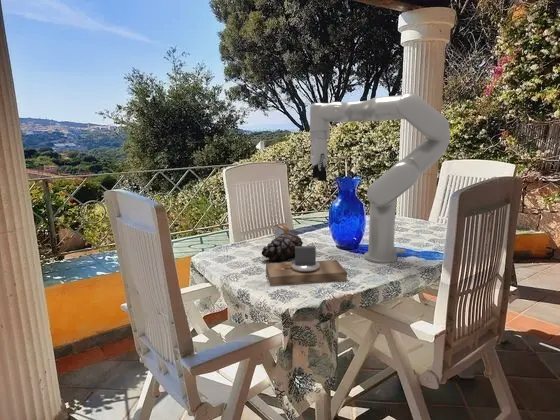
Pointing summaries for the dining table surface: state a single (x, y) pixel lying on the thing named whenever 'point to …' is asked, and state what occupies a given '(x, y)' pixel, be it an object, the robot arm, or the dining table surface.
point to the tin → (280, 230)
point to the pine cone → (282, 248)
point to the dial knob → (305, 259)
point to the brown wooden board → (305, 273)
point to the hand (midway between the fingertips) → (319, 179)
